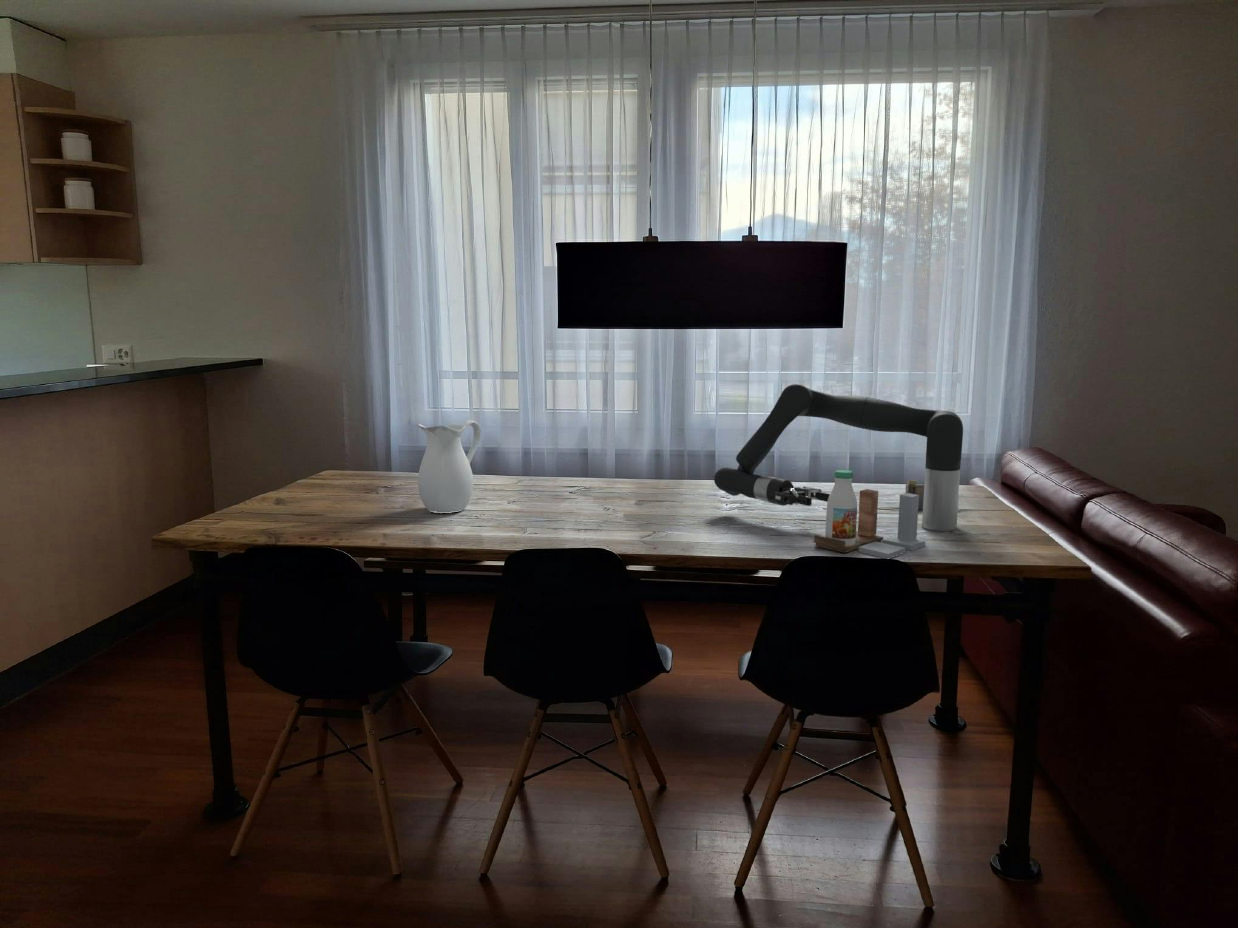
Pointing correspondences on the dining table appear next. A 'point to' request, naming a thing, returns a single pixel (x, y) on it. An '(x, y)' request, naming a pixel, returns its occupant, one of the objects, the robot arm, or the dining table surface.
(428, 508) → the pitcher
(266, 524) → the dining table surface
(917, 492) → the ruin model on sheet
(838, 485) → the milk bottle
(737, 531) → the dining table surface
